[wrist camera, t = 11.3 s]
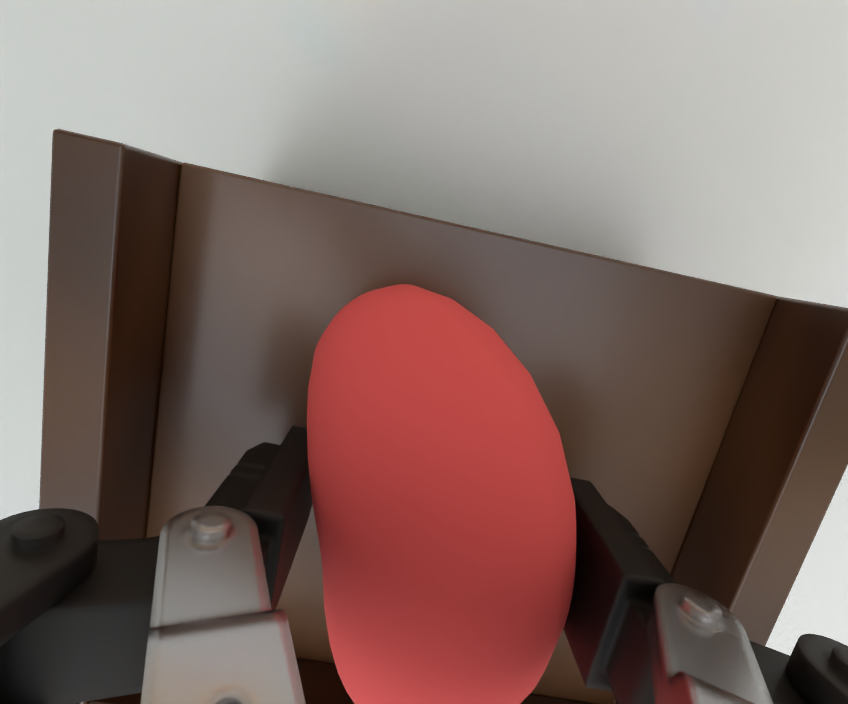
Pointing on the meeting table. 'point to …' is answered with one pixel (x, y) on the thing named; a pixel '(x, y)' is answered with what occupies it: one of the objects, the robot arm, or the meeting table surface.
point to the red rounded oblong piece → (436, 505)
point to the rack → (478, 293)
